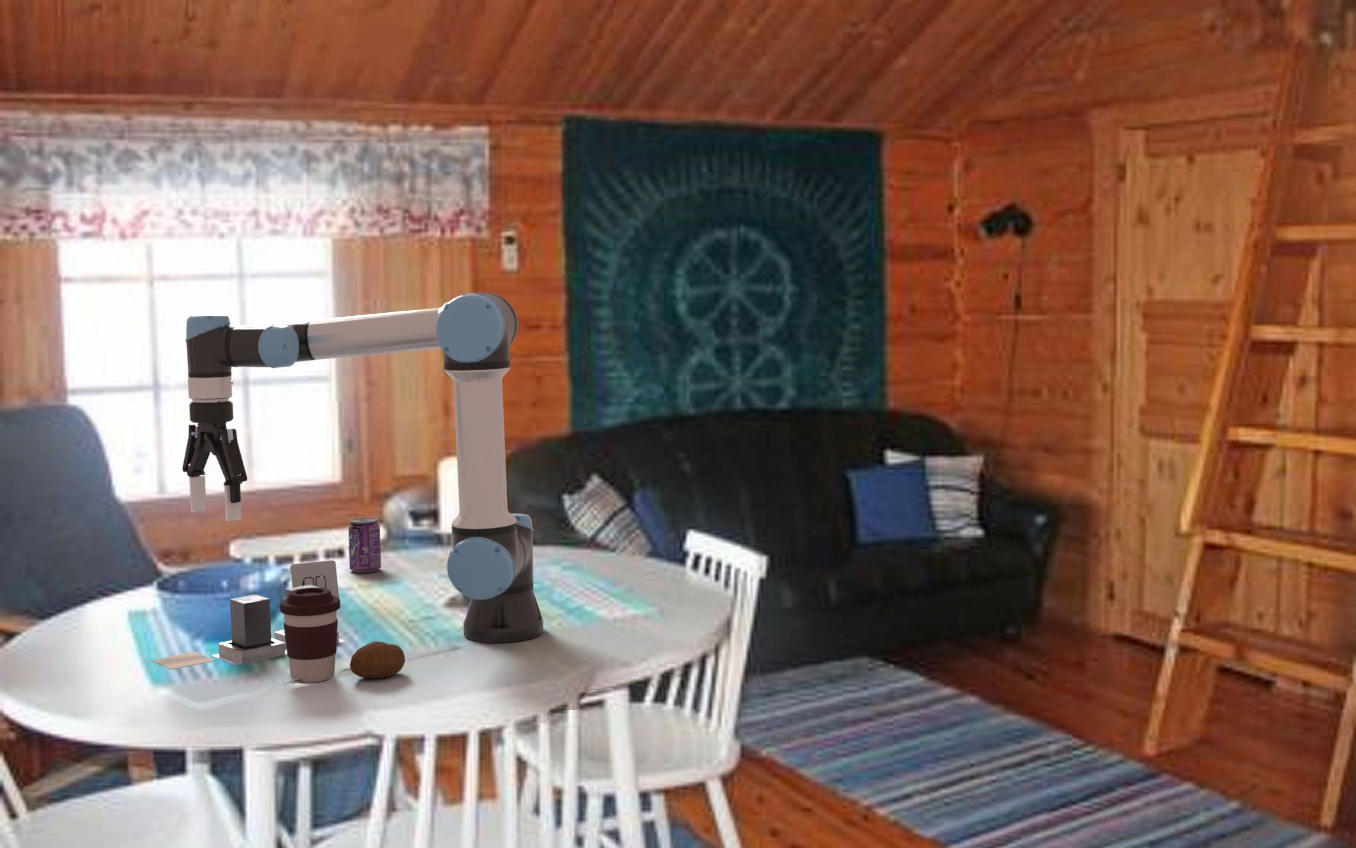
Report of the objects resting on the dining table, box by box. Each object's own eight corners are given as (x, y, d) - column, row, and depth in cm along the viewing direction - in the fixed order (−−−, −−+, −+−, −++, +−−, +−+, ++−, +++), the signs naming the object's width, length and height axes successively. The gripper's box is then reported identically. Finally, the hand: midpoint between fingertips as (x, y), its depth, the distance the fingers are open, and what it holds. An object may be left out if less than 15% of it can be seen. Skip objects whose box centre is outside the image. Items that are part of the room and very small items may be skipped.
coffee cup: (319, 666, 250) (316, 582, 248) (354, 676, 243) (351, 590, 242) (270, 679, 242) (267, 592, 240) (306, 689, 236) (302, 601, 234)
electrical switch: (294, 610, 291) (291, 565, 291) (289, 607, 296) (287, 563, 296) (340, 605, 295) (337, 561, 295) (334, 603, 300) (332, 558, 300)
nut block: (271, 653, 254) (269, 598, 253) (246, 659, 251) (243, 603, 250) (257, 648, 258) (255, 594, 257) (232, 654, 254) (229, 599, 253)
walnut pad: (215, 665, 250) (215, 660, 250) (172, 675, 245) (171, 669, 245) (194, 657, 256) (194, 651, 256) (151, 666, 250) (151, 660, 250)
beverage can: (348, 569, 331) (346, 518, 329) (379, 567, 333) (378, 516, 332) (351, 575, 324) (349, 523, 323) (382, 573, 326) (381, 521, 325)
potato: (414, 675, 244) (413, 639, 243) (364, 687, 237) (363, 650, 236) (393, 668, 248) (392, 633, 248) (343, 679, 242) (342, 643, 241)
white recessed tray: (346, 646, 263) (345, 630, 262) (236, 670, 247) (235, 653, 247) (320, 637, 269) (320, 622, 269) (211, 660, 254) (210, 644, 253)
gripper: (264, 402, 251) (268, 521, 254) (198, 394, 269) (203, 505, 271) (224, 405, 246) (229, 527, 248) (160, 397, 264) (165, 510, 266)
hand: (215, 516), depth 260 cm, fingers open, 13 cm apart
